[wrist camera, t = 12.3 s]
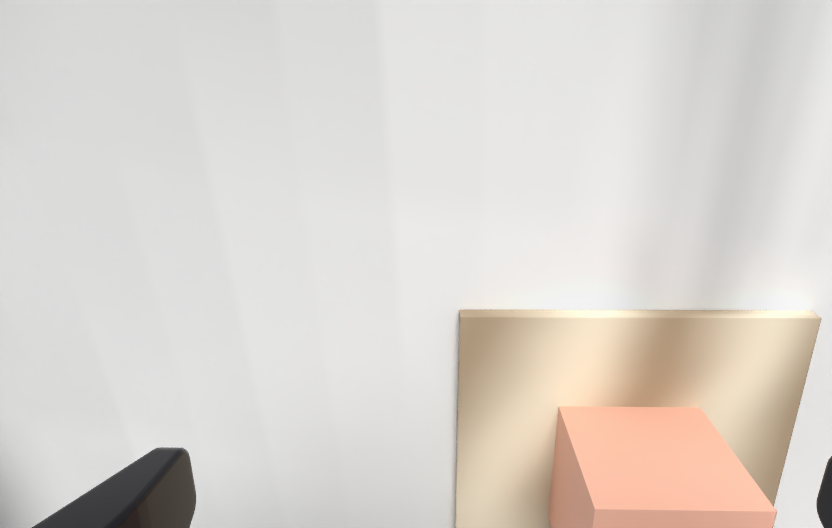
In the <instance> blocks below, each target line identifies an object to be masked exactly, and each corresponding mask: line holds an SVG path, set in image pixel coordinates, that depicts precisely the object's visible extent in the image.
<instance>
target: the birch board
mask: <svg viewBox="0 0 832 528" xmlns="http://www.w3.org/2000/svg"><path fill="white" fill-rule="evenodd" d="M820 322H821V318H820V317H819V316H817V315H816V314H815V313H813V312H812V311H732V310H460V313H459V362H458V412H457V461H456V511H455V528H551V526H550V522H549V518H548V514H549V504H550V493H551V482H552V472H553V461H554V450H555V440H556V429H557V419H558V408H559V406H590V407H696V408H701V409H702V411H703V412H704V413H705V415H706V416H707V417H708V419H709V420H710V421H711V423H712V424H713V425H714V427H715V428H716V429H717V431H718V432H719V434H720V435H721V436H722V438H723V439H724V440H725V442H726V443H727V444H728V446H729V447H730V448H731V450H732V451H733V452H734V454H735V455H736V457H737V458H738V459H739V461H740V462H741V463H742V465H743V466H744V467H745V469H746V470H747V471H748V473H749V474H750V476H751V477H752V478H753V480H754V481H755V482H756V484H757V485H758V486H759V488H760V489H761V490H762V492H763V493H764V494H765V496H766V497H767V499H768V500H769V501H770V503H771V504H772V505H773V507H774V503H775V499H776V495H777V491H778V487H779V483H780V479H781V475H782V471H783V467H784V463H785V459H786V456H787V452H788V448H789V444H790V440H791V436H792V432H793V428H794V424H795V420H796V416H797V412H798V408H799V405H800V401H801V397H802V393H803V389H804V385H805V381H806V377H807V373H808V369H809V365H810V361H811V357H812V353H813V350H814V346H815V342H816V338H817V334H818V330H819V326H820Z"/></svg>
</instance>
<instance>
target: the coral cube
mask: <svg viewBox="0 0 832 528" xmlns="http://www.w3.org/2000/svg"><path fill="white" fill-rule="evenodd" d="M776 514H777V511H776V509H775V508H774V507H773V505H772V504H771V503H770V501H769V500H768V499H767V497H766V496H765V494H764V493H763V492H762V490H761V489H760V488H759V486H758V485H757V484H756V482H755V481H754V480H753V478H752V477H751V476H750V474H749V473H748V471H747V470H746V469H745V467H744V466H743V465H742V463H741V462H740V461H739V459H738V458H737V457H736V455H735V454H734V452H733V451H732V450H731V448H730V447H729V446H728V444H727V443H726V442H725V440H724V439H723V438H722V436H721V435H720V434H719V432H718V431H717V429H716V428H715V427H714V425H713V424H712V423H711V421H710V420H709V419H708V417H707V416H706V415H705V413H704V412H703V411H702V409H701V408H696V407H590V406H559V408H558V419H557V429H556V440H555V450H554V461H553V472H552V482H551V493H550V504H549V514H548V518H549V522H550V526H551V528H773V525H774V522H775V518H776Z"/></svg>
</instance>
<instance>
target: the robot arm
mask: <svg viewBox="0 0 832 528" xmlns="http://www.w3.org/2000/svg"><path fill="white" fill-rule="evenodd" d="M195 506H196V491H195V485H194V479H193V473H192V467H191V462H190V457H189V454H188V452H187V450H185V449H184V448H156V449H154V450H152V451H151V452H149V453H148V454H146V455H144V456H143V457H141V458H140V459H138V460H137V461H135V462H134V463H132V464H130V465H129V466H127V467H126V468H124V469H123V470H121V471H119V472H118V473H116V474H115V475H113V476H112V477H110V478H109V479H107V480H105V481H104V482H102V483H101V484H99V485H98V486H96V487H95V488H93V489H91V490H90V491H88V492H87V493H85V494H84V495H82V496H80V497H79V498H77V499H76V500H74V501H73V502H71V503H70V504H68V505H66V506H65V507H63V508H62V509H60V510H59V511H57V512H56V513H54V514H52V515H51V516H49V517H48V518H46V519H45V520H43V521H41V522H40V523H38V524H37V525H35V526H34V527H32V528H189V527H190V524H191V521H192V518H193V514H194V511H195ZM817 512H818V515H819V518H820V521H821V523H822V525H823V527H824V528H832V456H831V458H830V459H829V460H828V463H827V466H826V469H825V473H824V476H823V480H822V483H821V487H820V490H819V494H818V497H817Z"/></svg>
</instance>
